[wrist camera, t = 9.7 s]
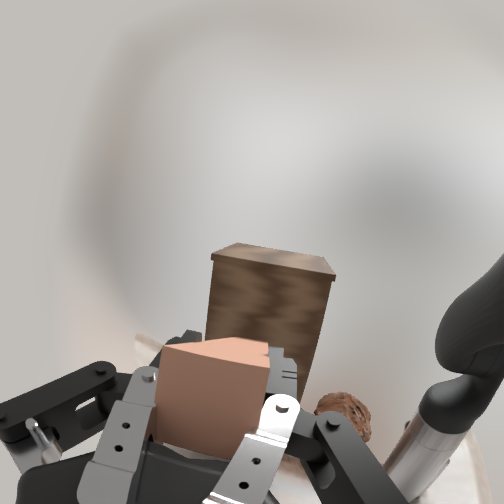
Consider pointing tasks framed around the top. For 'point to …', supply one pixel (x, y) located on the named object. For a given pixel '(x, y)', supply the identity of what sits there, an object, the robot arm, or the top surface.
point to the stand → (270, 300)
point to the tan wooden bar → (211, 393)
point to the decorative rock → (347, 411)
